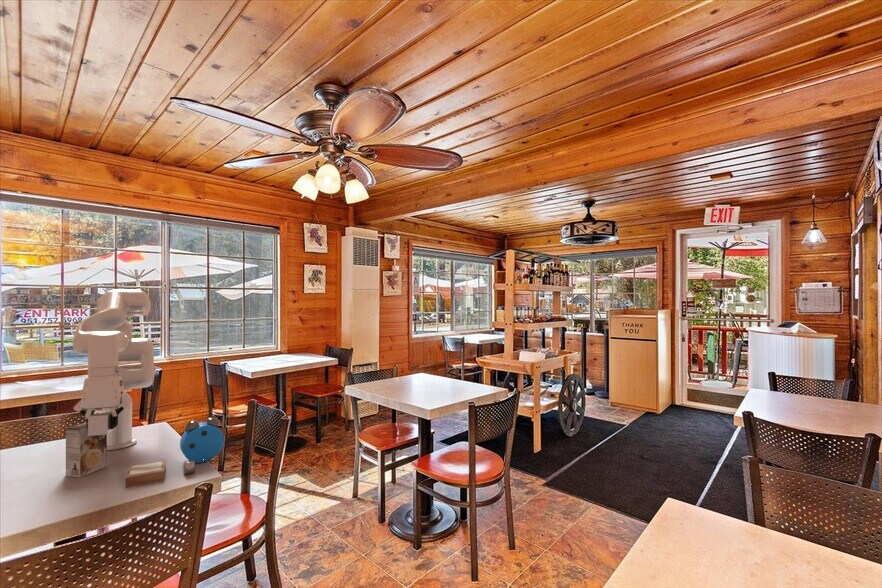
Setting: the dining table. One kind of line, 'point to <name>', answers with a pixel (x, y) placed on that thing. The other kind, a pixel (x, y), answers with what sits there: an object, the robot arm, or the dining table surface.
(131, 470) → the picture frame
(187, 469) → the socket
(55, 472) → the dining table surface
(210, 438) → the alarm clock
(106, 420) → the housing
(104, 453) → the coffee box
